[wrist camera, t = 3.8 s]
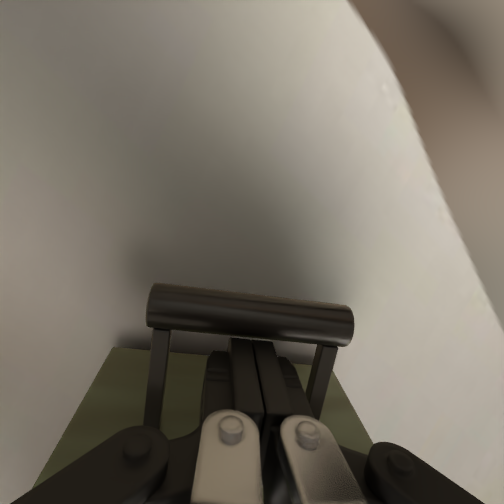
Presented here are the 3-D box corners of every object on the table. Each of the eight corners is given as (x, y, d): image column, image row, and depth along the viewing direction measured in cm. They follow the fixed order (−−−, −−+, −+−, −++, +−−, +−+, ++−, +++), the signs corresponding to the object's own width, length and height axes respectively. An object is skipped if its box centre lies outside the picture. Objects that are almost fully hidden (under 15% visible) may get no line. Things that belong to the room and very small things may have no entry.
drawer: (120, 238, 15) (15, 319, 7) (355, 270, 17) (477, 364, 9) (97, 563, 21) (20, 817, 13) (279, 563, 22) (314, 787, 14)
